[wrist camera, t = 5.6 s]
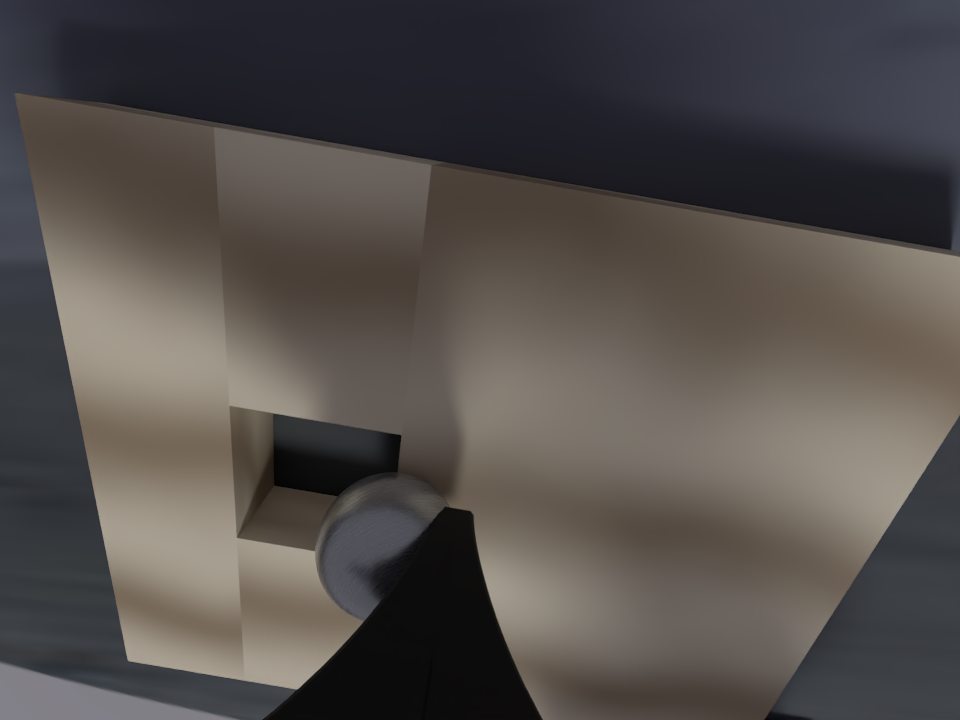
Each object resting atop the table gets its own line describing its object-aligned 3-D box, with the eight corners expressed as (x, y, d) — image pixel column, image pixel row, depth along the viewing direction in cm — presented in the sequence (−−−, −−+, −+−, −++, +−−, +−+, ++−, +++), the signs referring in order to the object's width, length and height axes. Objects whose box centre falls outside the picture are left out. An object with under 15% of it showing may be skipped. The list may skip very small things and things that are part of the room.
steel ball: (323, 677, 11) (297, 549, 13) (462, 630, 13) (416, 525, 15) (344, 574, 9) (310, 451, 12) (500, 537, 11) (441, 437, 13)
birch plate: (710, 692, 20) (736, 763, 17) (173, 601, 20) (128, 661, 17) (952, 250, 13) (1050, 272, 10) (106, 103, 12) (14, 92, 10)
